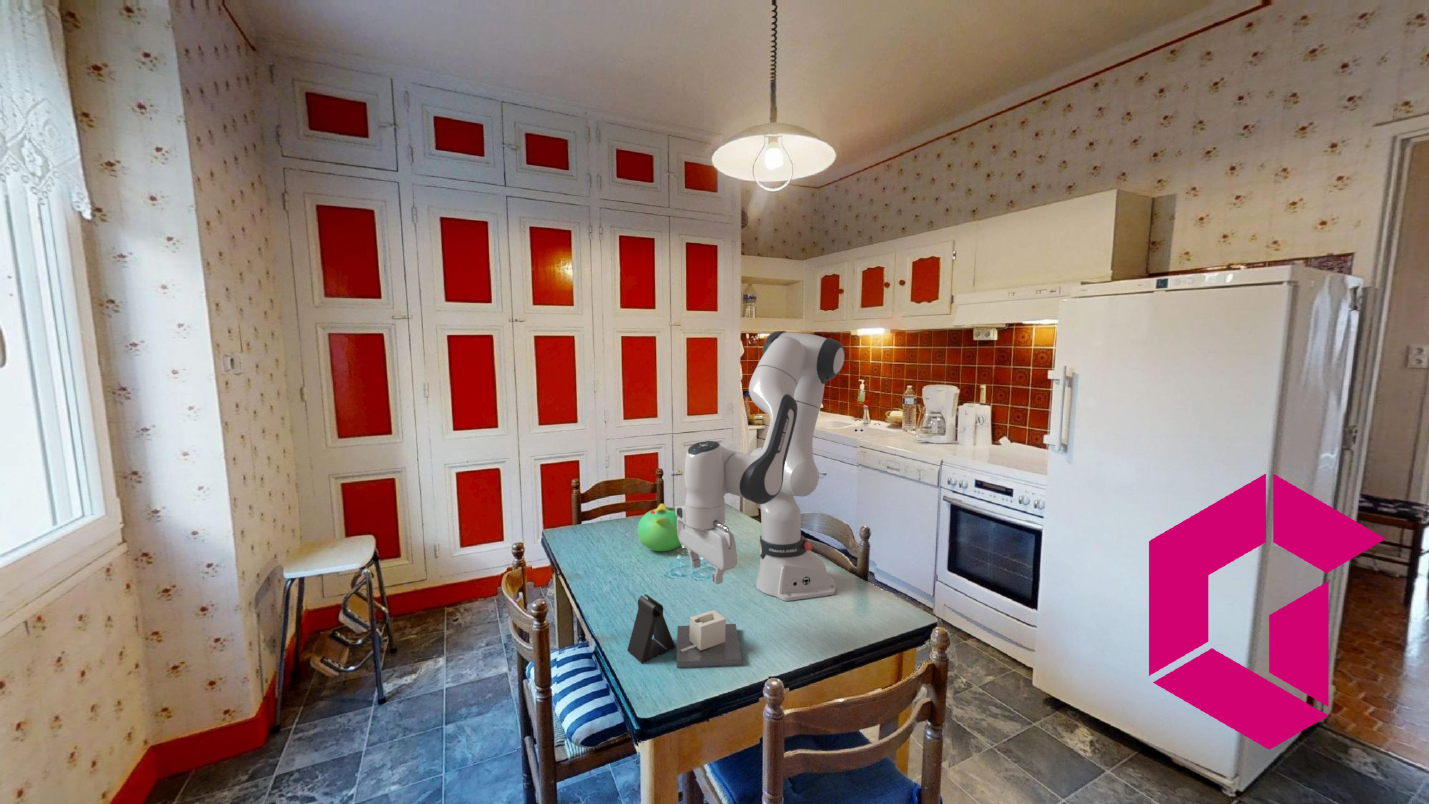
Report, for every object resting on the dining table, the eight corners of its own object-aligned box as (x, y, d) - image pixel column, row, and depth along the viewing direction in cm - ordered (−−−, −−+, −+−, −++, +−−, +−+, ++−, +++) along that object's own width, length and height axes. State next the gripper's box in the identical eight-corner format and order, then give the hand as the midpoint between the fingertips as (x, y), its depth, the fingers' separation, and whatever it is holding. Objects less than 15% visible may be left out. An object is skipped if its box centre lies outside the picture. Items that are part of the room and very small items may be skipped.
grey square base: (735, 629, 125) (735, 605, 124) (741, 665, 111) (741, 638, 111) (677, 631, 124) (677, 607, 124) (676, 668, 111) (676, 640, 110)
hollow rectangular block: (713, 632, 121) (714, 608, 121) (725, 641, 117) (725, 617, 117) (689, 640, 118) (689, 616, 117) (700, 650, 114) (700, 625, 113)
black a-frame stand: (660, 636, 122) (659, 588, 121) (675, 648, 118) (674, 598, 116) (627, 651, 117) (625, 601, 115) (641, 664, 112) (639, 611, 111)
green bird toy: (675, 535, 187) (674, 495, 185) (701, 550, 173) (700, 507, 171) (630, 547, 176) (628, 505, 175) (654, 564, 163) (652, 519, 161)
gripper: (743, 525, 108) (744, 588, 110) (694, 501, 125) (696, 555, 127) (718, 532, 105) (719, 597, 106) (671, 505, 122) (673, 562, 123)
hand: (706, 574), depth 117 cm, fingers open, 8 cm apart
